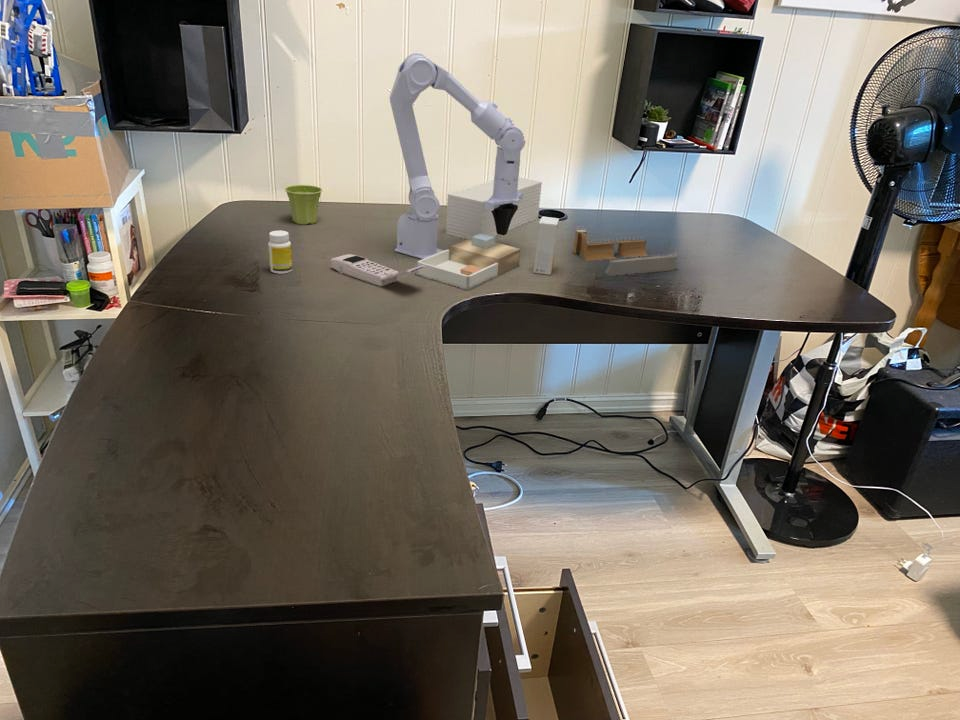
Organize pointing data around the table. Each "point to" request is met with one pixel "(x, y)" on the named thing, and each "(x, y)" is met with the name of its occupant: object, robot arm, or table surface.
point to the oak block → (486, 255)
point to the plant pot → (304, 203)
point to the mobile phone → (367, 269)
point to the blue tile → (483, 241)
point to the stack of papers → (473, 217)
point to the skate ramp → (625, 250)
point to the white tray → (453, 271)
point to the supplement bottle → (280, 252)
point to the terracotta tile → (470, 270)
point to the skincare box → (546, 245)
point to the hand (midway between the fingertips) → (501, 234)
